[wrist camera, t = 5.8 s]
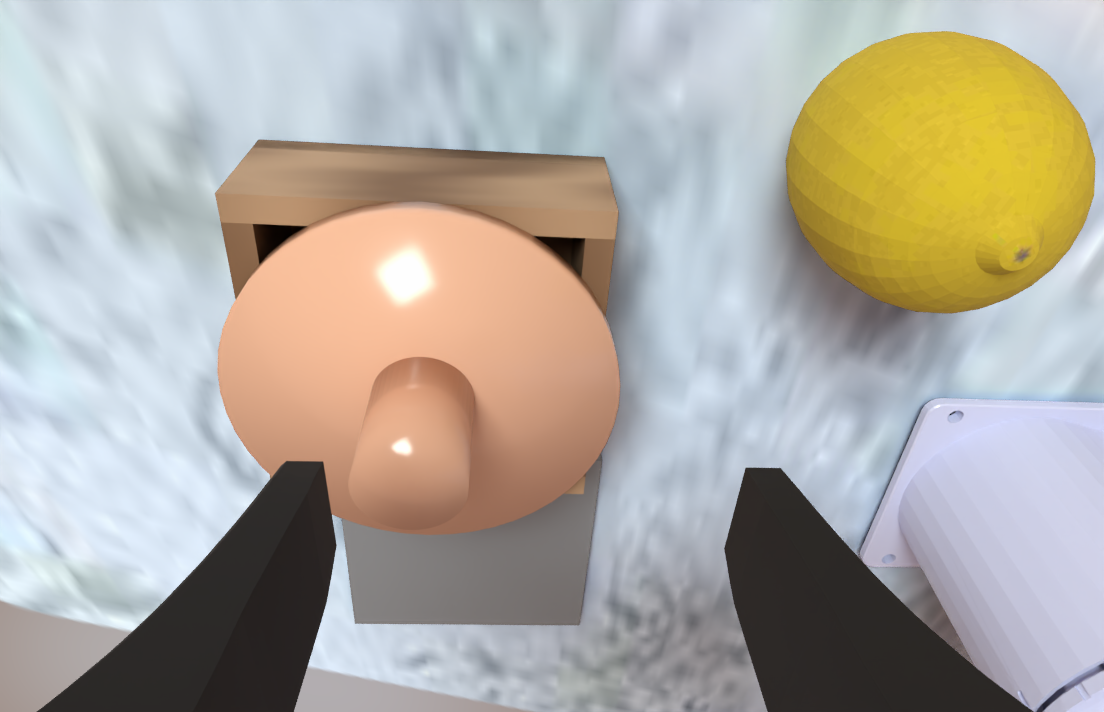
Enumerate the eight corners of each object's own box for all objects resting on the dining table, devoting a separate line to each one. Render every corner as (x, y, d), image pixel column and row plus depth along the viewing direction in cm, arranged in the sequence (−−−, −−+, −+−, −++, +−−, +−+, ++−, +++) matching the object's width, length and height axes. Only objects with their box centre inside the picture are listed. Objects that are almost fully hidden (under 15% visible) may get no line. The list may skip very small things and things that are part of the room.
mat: (600, 453, 26) (602, 461, 26) (578, 616, 32) (579, 625, 31) (336, 447, 26) (333, 454, 26) (356, 614, 31) (354, 623, 31)
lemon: (853, 245, 22) (993, 422, 16) (707, 145, 20) (798, 297, 14) (1010, 81, 20) (1255, 210, 13) (860, -51, 18) (1060, 22, 11)
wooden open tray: (604, 157, 20) (618, 212, 18) (575, 418, 26) (583, 493, 23) (258, 139, 20) (214, 193, 17) (300, 411, 25) (272, 487, 22)
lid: (641, 212, 18) (669, 301, 14) (595, 517, 23) (609, 632, 20) (192, 190, 17) (114, 278, 14) (258, 511, 23) (214, 627, 19)
